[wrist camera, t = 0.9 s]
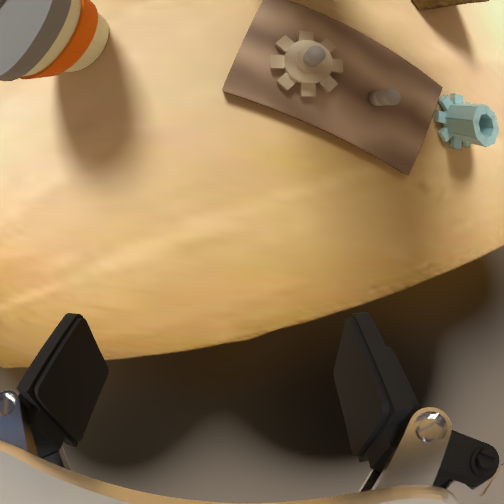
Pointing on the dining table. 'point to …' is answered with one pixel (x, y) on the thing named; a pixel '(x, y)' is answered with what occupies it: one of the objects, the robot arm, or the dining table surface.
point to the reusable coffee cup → (49, 37)
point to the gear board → (334, 81)
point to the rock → (441, 3)
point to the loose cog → (466, 122)
